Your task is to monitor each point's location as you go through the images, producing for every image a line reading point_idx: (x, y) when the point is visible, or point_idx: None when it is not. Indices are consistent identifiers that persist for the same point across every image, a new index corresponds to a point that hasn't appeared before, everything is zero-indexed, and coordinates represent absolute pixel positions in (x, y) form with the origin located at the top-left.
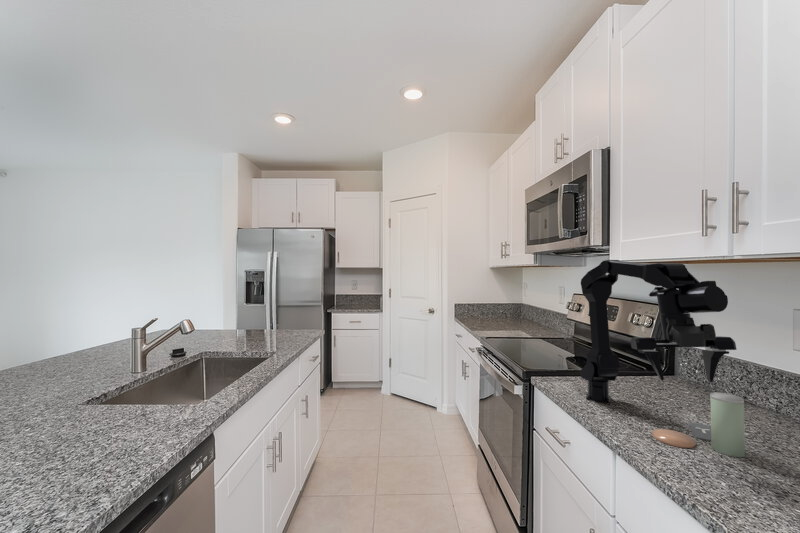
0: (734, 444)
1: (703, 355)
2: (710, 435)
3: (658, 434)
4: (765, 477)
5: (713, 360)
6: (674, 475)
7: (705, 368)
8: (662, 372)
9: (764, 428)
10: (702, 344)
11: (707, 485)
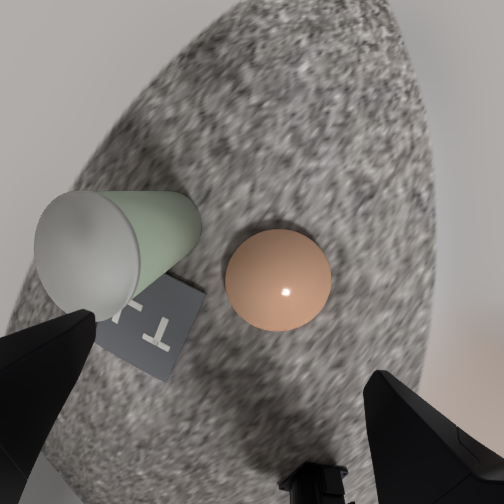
0: (163, 191)
1: (15, 492)
2: (158, 306)
3: (314, 294)
4: (179, 104)
5: None
6: (392, 96)
7: (56, 410)
8: (404, 402)
9: None
10: None
11: (344, 61)
